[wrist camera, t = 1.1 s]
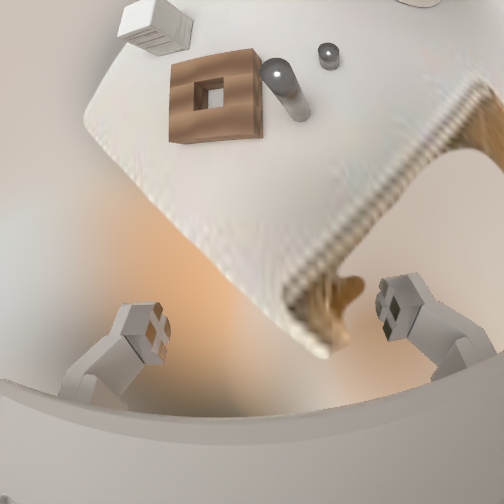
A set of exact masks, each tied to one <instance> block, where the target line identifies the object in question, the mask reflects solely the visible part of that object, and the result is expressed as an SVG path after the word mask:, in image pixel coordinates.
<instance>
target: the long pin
mask: <svg viewBox="0 0 504 504" xmlns="http://www.w3.org/2000/svg"><path fill="white" fill-rule="evenodd" d="M260 77H261V79H262V80H263V81H264V82H265V84H266V85H267V86H268V87H269V88H270V90H271V91H272V92H273V93H274V95H275V96H276V97H277V98H278V100H279V101H280V102H281V103H282V105H283V106H284V107H285V109H286V110H287V111H288V112H289V114H290V115H291V116H292V118H293V119H294V120H296V121H298V122H303V121H306V120H307V119H308V118H309V116H310V110H309V107H308V105H307V102H306V100H305V97H304V95H303V93H302V90H301V88H300V86H299V84H298V81H297V79H296V77H295V75H294V72H293V70H292V68H291V66H290V64H289V63H288V62H287V61H286V60H284V59H281V58H272V59H269V60H267V61H266V62H264V63H263V64H262V66H261V68H260Z"/></svg>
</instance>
